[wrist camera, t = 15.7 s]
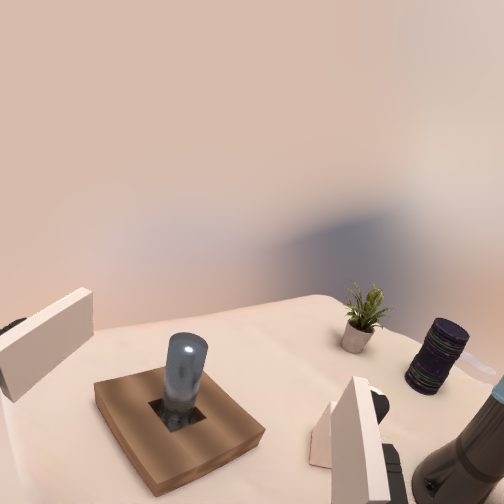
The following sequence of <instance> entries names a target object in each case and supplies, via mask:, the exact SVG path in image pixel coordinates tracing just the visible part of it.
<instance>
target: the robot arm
mask: <svg viewBox="0 0 504 504" xmlns="http://www.w3.org/2000/svg"><path fill="white" fill-rule="evenodd" d="M92 336H93V292H92V291H90V290H87V289H85V288H83V287H81V288H79V289H77V290H75V291H74V292H72V293H70V294H68V295H67V296H65V297H63V298H62V299H60V300H58V301H57V302H55V303H53V304H51V305H50V306H48V307H46V308H45V309H43V310H41V311H40V312H38V313H36V314H34V315H33V316H31V317H30V318H28V319H27V318H22V319H18V320H16V321H14V322H12V323H11V324H9V325H8V326H6V327H4V328H3V329H2V330H0V387H1V390H2V392H3V394H4V395H5V396H6V397H7V398H8V399H9V400H11V401H12V402H13V403H15V402H16V401H17V400H18V399H19V398H20V397H21V396H22V395H24V394H25V393H26V392H27V391H28V390H29V389H31V388H32V387H33V386H34V385H35V384H36V383H37V382H39V381H40V380H41V379H42V378H43V377H44V376H46V375H47V374H48V373H49V372H50V371H51V370H53V369H54V368H55V367H56V366H57V365H59V364H60V363H61V362H62V361H63V360H65V359H66V358H67V357H68V356H69V355H71V354H72V353H73V352H74V351H75V350H77V349H78V348H79V347H80V346H81V345H83V344H84V343H85V342H86V341H87V340H89V339H90V338H91V337H92ZM330 421H331V456H332V499H331V504H409V503H408V500H407V494H406V489H405V483H404V478H403V474H402V468H401V466H400V464H401V463H400V459H399V454H398V452H397V451H396V449H395V448H394V446H393V445H392V444H383V443H381V438H380V433H379V428H378V423H377V418H376V413H375V409H374V404H373V400H372V395H371V391H370V387H369V382H368V379H366V378H361V377H356V376H353V377H352V379H351V380H350V382H349V384H348V386H347V388H346V389H345V391H344V393H343V395H342V397H341V398H340V400H339V402H338V403H337V405H336V407H335V409H334V410H333V412H332V414H331V415H330ZM503 477H504V376H503V377H502V378H501V380H500V381H499V383H498V384H497V385H496V386H495V387H494V388H493V390H492V394H491V395H490V396H489V398H488V399H487V401H486V402H485V403H484V405H483V406H482V407H481V409H480V410H479V411H478V413H477V414H476V415H475V417H474V418H473V419H472V420H471V422H470V423H469V424H468V425H467V426H466V428H465V429H464V430H463V431H462V432H461V434H460V435H459V436H458V437H457V438H456V439H454V440H453V441H451V442H450V443H448V444H446V445H445V446H443V447H441V448H440V449H438V450H436V451H435V452H433V453H431V454H430V455H429V456H427V457H426V458H425V459H424V460H423V462H422V463H421V464H420V465H419V466H418V467H417V468H416V470H415V472H414V475H413V480H412V488H413V493H414V497H415V499H416V501H417V503H418V504H484V503H485V502H486V500H487V499H488V497H489V496H490V494H491V493H492V492H493V490H494V489H495V487H496V486H497V484H498V483H499V481H500V480H501V479H502V478H503Z"/></svg>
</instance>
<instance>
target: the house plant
mask: <svg viewBox="0 0 504 504" xmlns="http://www.w3.org/2000/svg"><path fill="white" fill-rule="evenodd" d="M356 286H357V285H356ZM357 288H358V290H359V287H358V286H357ZM375 290H376V289H375V284H374V285H373V288H372V291H370V292H369V293H368V295H367V299H366V302H365V303H364V304H362V298H361V293H360V290H359V294H360V299H361V301H360V299H359V297H358V296H357V297H358V299H359V301H360V304H361V309H360V307H359V302H358V299H357V297H356V296H355V298H356V300H357V303H358V308H357V307H355V306H353V305H352V303H351V301H350V300H349V299H348V298H347V299H348V300H349V302H350V304H349V303H348V304H343V305H348V306H349V307H351V308H352V310H353V312H348V313H347V314H346V315H353V316H352V318H351V319H349V320H348V322H347V326H346V330H345V333H344V337H343V341H342V347H343V348H344V349H345V350H346V351H348V352H351V353H355V354H357V353H360V352H361V350H362V349H363V348H364V346H365V345H366V344H367V342H368V341H369V339H370V338H371V336H372V335H373V334H374V332H375V329H374V328H373V327H374V326H378V325H372V324H374V323H376V322H379V320H378V319H377V318H378V317H382V316H387V315H384V314H383V315H379V314H381V313H382V312H384V311H385V310H388V309H387V308H386V309H383V310H382V311H380V312H378V313H376V314H375V315H374V316H372V315H373V314H374V313H375V311H376V310H377V308H378V307H379V305H380V304H381V302H382V300H383V297H384V295H383V296H382V297H381V295H382V291H380V292H381V293H380V292H379V290H380V289H378V290H376V292H375ZM378 292H379V293H380V295H379V293H378ZM377 293H378V294H377ZM378 295H379V296H378ZM377 297H378V298H377ZM376 298H377V300H376ZM375 300H376V302H375ZM374 302H375V303H374ZM373 303H374V305H373ZM372 305H373V306H372ZM371 307H372V308H371ZM346 309H348V308H346ZM354 309H355V310H356V312H357V311H358V312H359V316H358V312H357V315H356V314H355V312H354ZM349 310H350V309H349ZM360 314H361V317H360ZM346 315H345V316H346ZM377 315H379V316H377ZM371 316H372V317H371ZM376 316H377V317H376ZM370 317H371V318H370ZM370 320H371V321H370ZM369 321H370V322H369ZM368 322H369V323H368ZM371 325H372V326H371ZM380 327H381V328H382V329H383V327H382V326H380Z"/></svg>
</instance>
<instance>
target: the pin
mask: <svg viewBox="0 0 504 504" xmlns="http://www.w3.org/2000/svg"><path fill="white" fill-rule="evenodd" d="M207 350H208V344H207V342H206V341H205V340H204V339H203V338H201V337H200V336H198V335H195V334H192V333H185V332H183V333H177V334H174V335H173V336H171V338H170V340H169V347H168V354H167V362H166V369H165V377H164V385H163V393H162V402H161V412H160V420H161V421H162V423H163V424H164V425H165V426H166V428H167V429H168V430H169V431H170V433H172V432H175V431H177V430H180V429H182V428H185V427H187V426H190V425H191V420H192V416H193V411H194V407H195V402H196V398H197V393H198V389H199V385H200V380H201V376H202V372H203V367H204V363H205V359H206V355H207Z"/></svg>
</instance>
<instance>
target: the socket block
mask: <svg viewBox="0 0 504 504" xmlns="http://www.w3.org/2000/svg"><path fill="white" fill-rule="evenodd" d="M165 369H166V366H165V367H161V368H157V369H153V370H149V371H145V372H141V373H137V374H133V375H129V376H124V377H120V378H115V379H111V380H106V381H102V382H97V383H94V391H95V400H96V404H97V406H98V408H99V410H100V412H101V413H102V415H103V417H104V419H105V421H106V422H107V424H108V426H109V428H110V429H111V431H112V433H113V435H114V436H115V438H116V440H117V441H118V443H119V444H120V446H121V448H122V449H123V451H124V452H125V454H126V455H127V457H128V459H129V460H130V462H131V463H132V465H133V466H134V467H135V469H136V470H137V472H138V473H139V475H140V476H141V477H142V479H143V480H144V482H145V483H146V484H147V486H148V487H149V488H150V490H151V491H152V492H153V493H154V495H155V496H156V497H158V496H160V495H163V494H165V493H168V492H170V491H172V490H174V489H177V488H179V487H181V486H183V485H185V484H188V483H190V482H192V481H194V480H196V479H198V478H200V477H202V476H204V475H206V474H208V473H210V472H212V471H214V470H216V469H217V468H219V467H221V466H223V465H225V464H227V463H228V462H230V461H232V460H234V459H235V458H237V457H239V456H241V455H242V454H244V453H246V452H247V451H249V450H251V449H252V448H254V447H256V446H257V445H258V443H259V441H260V439H261V438H262V436H263V434H264V432H265V430H266V429H265V428H264V427H263V426H262V425H261V424H260V423H258V422H257V421H256V420H255V419H254V418H253V417H252V416H250V415H249V414H248V413H247V412H246V411H245V410H244V409H243V408H242V407H240V406H239V405H238V404H237V403H236V402H235V401H234V400H233V399H232V398H231V397H230V396H229V395H228V394H227V393H225V392H224V391H223V390H222V389H221V388H220V387H219V386H218V385H217V384H216V383H215V382H214V381H213V380H212V379H211V378H210V377H209V376H208V375H207V374H206V373H205V372H204V371H203V372H202V376H201V380H200V385H199V389H198V393H197V398H196V402H195V407H194V411H193V416H192V420H191V424H192V425H190V426H187V427H185V428H182V429H180V430H177V431H175V432H172V433H170V431H169V430H168V429H167V428H166V426H165V425H164V424H163V423H162V421H161V420H160V419H159V416H160V412H161V402H162V393H163V385H164V377H165Z"/></svg>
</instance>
